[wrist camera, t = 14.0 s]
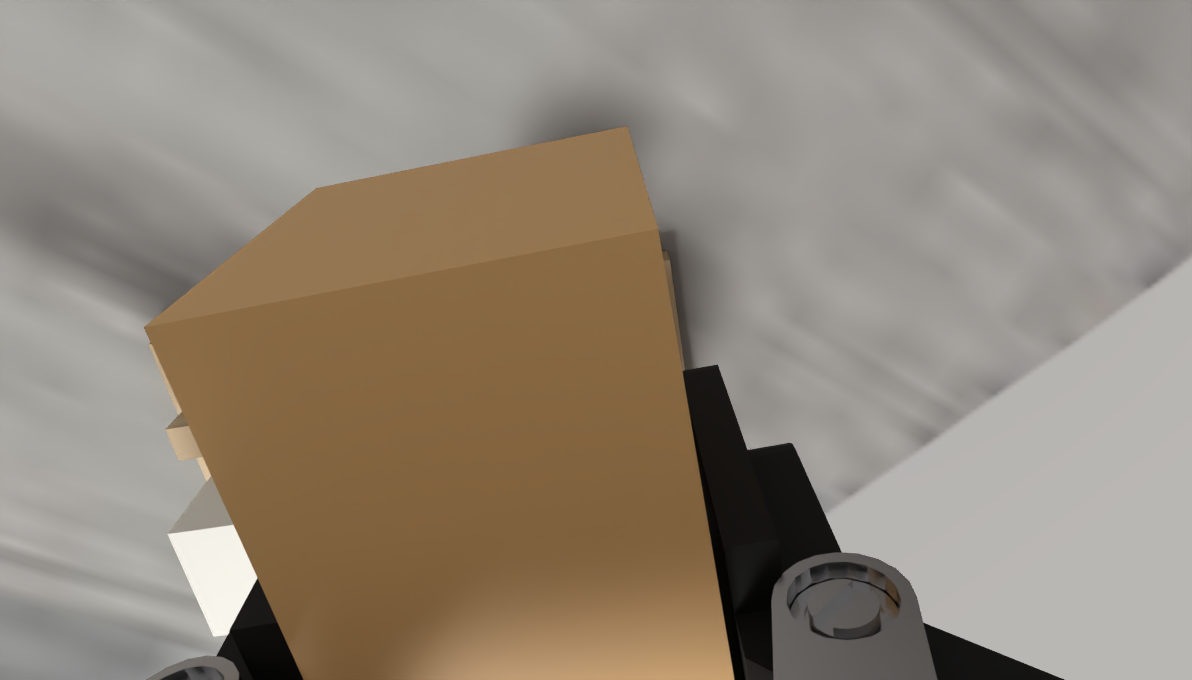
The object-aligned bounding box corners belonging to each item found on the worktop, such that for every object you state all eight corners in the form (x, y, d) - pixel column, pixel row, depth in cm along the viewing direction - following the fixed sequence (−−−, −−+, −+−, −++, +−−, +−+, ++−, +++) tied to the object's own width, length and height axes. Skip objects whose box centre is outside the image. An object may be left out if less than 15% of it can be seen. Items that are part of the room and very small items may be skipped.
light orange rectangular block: (502, 743, 14) (470, 1049, 10) (316, 188, 10) (143, 328, 6) (729, 707, 14) (790, 1007, 10) (627, 126, 10) (658, 228, 6)
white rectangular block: (276, 524, 31) (213, 636, 26) (242, 434, 30) (167, 533, 24) (642, 473, 31) (654, 578, 25) (627, 378, 29) (636, 468, 24)
